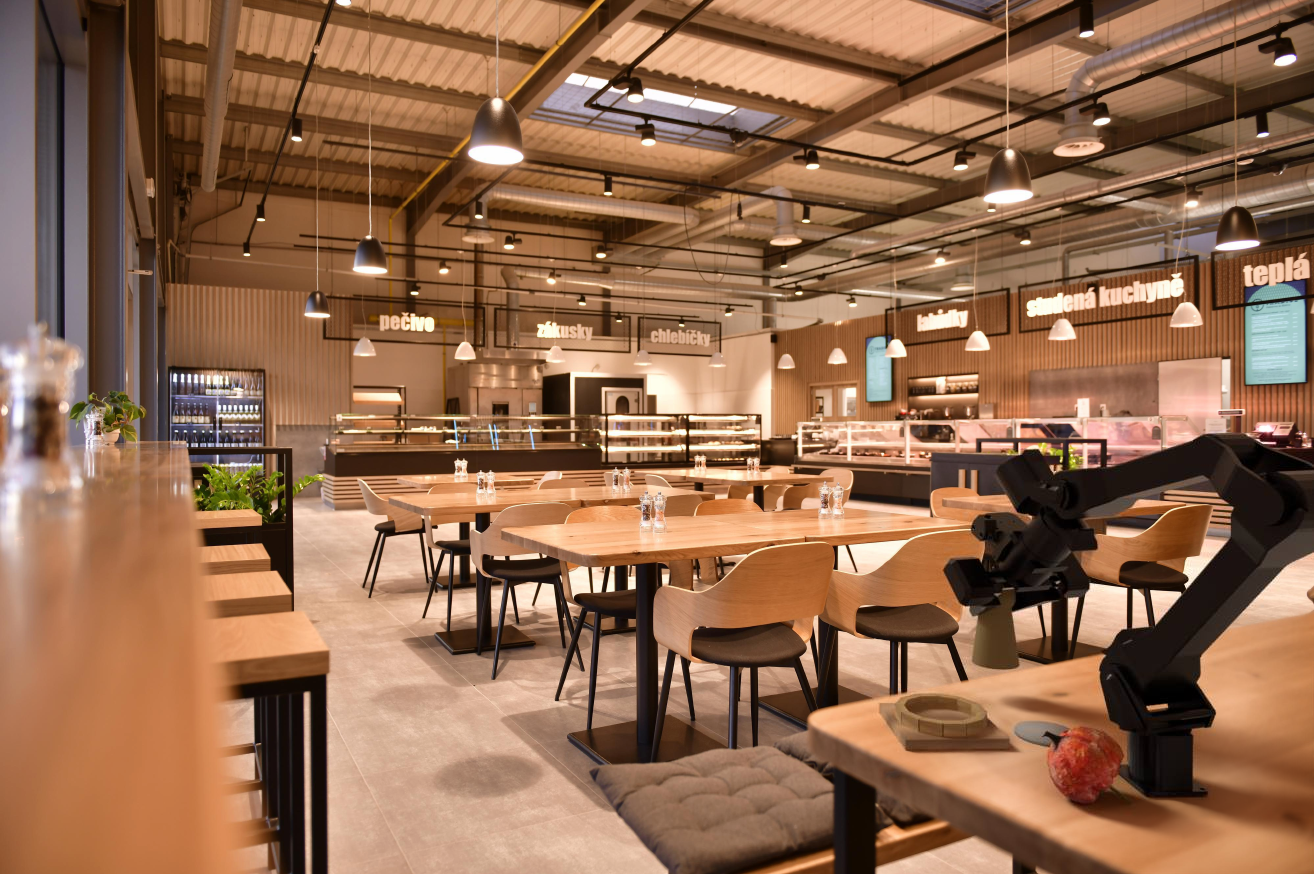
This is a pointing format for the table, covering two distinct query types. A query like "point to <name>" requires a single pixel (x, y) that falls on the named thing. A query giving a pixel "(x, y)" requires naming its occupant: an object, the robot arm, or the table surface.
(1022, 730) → the grey coaster
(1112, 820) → the table surface
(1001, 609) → the olive green peg
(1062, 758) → the pomegranate
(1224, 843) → the table surface
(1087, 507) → the robot arm
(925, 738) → the hub board
